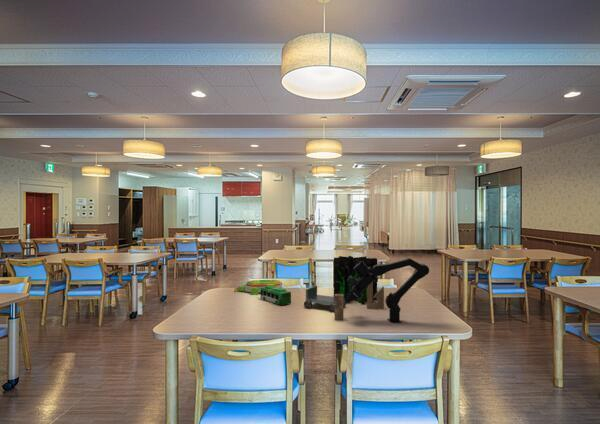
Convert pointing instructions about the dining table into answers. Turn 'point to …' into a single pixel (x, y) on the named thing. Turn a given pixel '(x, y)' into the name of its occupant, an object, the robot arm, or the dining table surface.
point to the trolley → (320, 299)
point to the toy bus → (276, 295)
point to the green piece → (257, 285)
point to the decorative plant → (345, 269)
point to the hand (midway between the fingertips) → (346, 299)
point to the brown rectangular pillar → (338, 306)
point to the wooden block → (378, 295)
